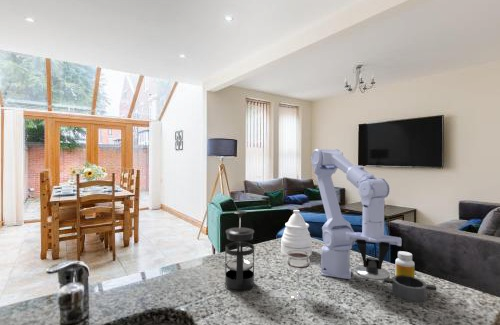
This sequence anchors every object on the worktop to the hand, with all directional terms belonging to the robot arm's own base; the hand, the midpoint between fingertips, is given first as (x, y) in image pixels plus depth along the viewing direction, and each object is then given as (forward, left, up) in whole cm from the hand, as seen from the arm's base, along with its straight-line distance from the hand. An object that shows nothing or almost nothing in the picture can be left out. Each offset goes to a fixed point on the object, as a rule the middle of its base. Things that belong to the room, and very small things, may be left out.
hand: (372, 266), depth 80 cm
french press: (-38, -9, -8) cm, 40 cm away
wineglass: (-20, -8, -8) cm, 23 cm away
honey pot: (-28, +28, -9) cm, 40 cm away
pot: (+10, +4, -8) cm, 14 cm away
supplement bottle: (+10, +12, -8) cm, 18 cm away
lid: (0, 0, -2) cm, 2 cm away
